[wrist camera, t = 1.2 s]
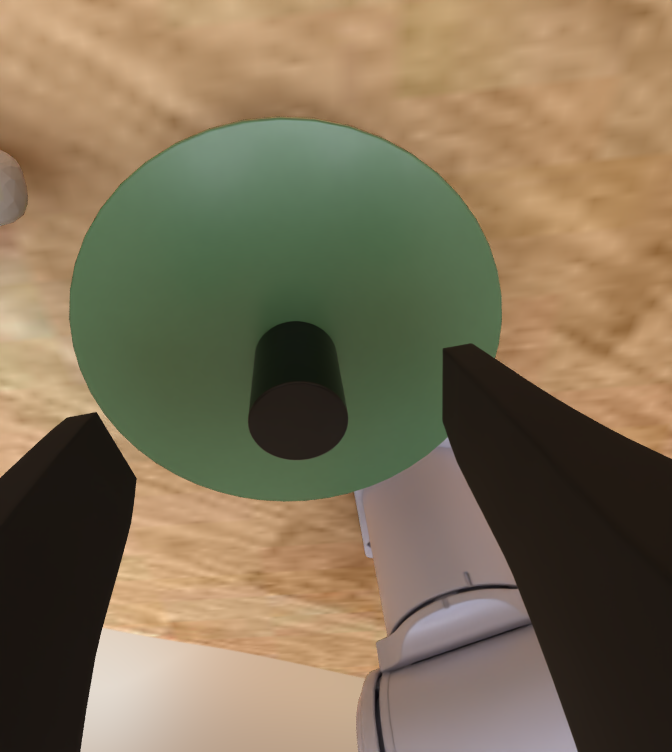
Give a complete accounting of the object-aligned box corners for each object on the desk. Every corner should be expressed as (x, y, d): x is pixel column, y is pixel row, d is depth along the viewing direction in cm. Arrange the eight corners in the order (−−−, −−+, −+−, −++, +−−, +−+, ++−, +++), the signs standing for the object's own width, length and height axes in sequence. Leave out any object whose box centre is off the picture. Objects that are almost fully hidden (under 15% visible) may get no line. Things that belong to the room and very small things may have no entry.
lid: (483, 451, 19) (531, 541, 16) (169, 505, 19) (141, 609, 16) (499, 72, 12) (598, 70, 8) (-9, 162, 12) (-143, 201, 8)
